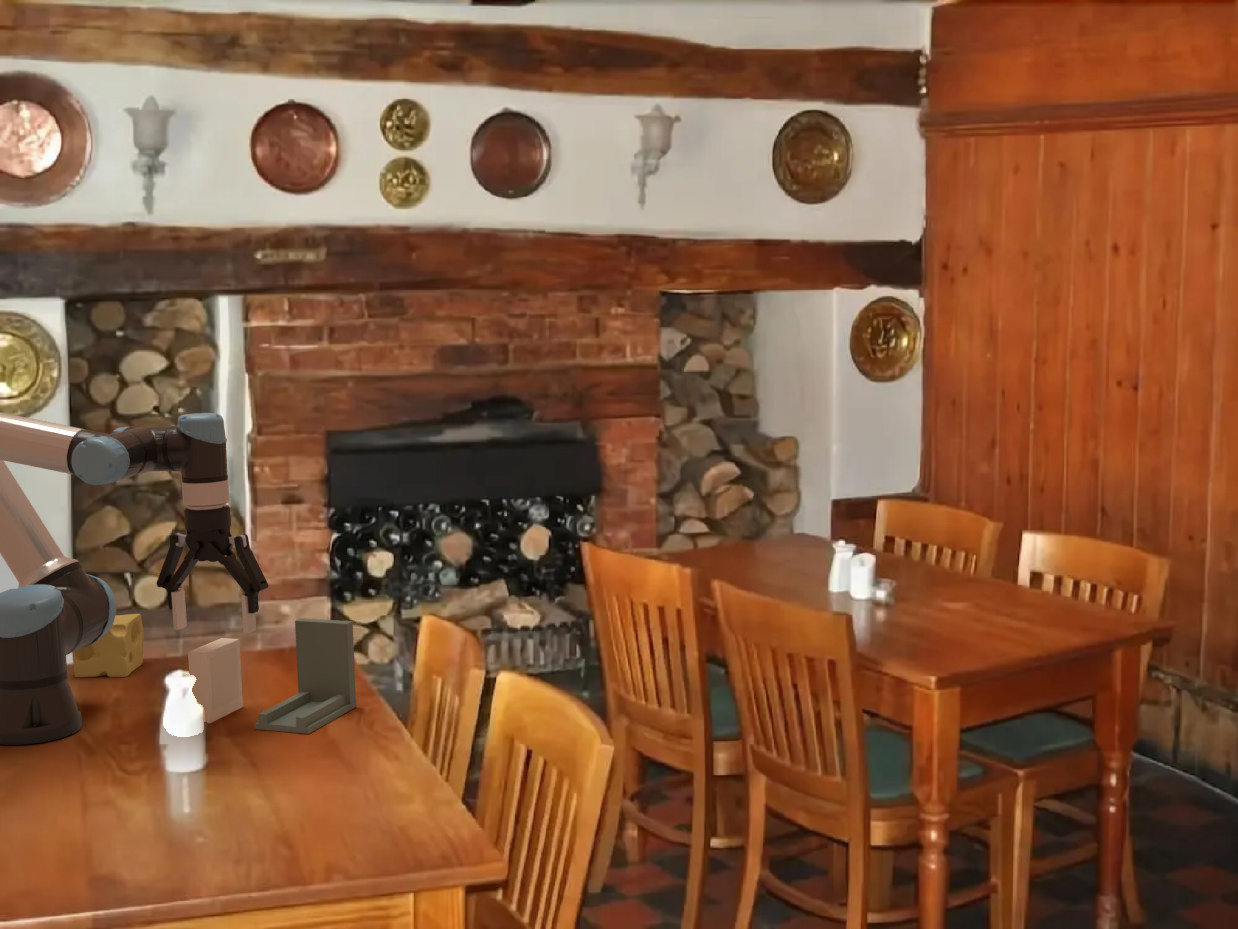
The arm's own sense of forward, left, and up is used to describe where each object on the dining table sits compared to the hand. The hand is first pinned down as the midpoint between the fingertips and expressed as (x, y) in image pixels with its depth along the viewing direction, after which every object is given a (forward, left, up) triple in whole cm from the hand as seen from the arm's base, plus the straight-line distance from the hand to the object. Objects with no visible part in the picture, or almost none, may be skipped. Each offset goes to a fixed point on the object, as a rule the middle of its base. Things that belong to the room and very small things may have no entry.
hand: (214, 630), depth 261 cm
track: (+2, -16, -15) cm, 21 cm away
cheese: (+20, +37, -15) cm, 45 cm away
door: (0, 0, -15) cm, 15 cm away
